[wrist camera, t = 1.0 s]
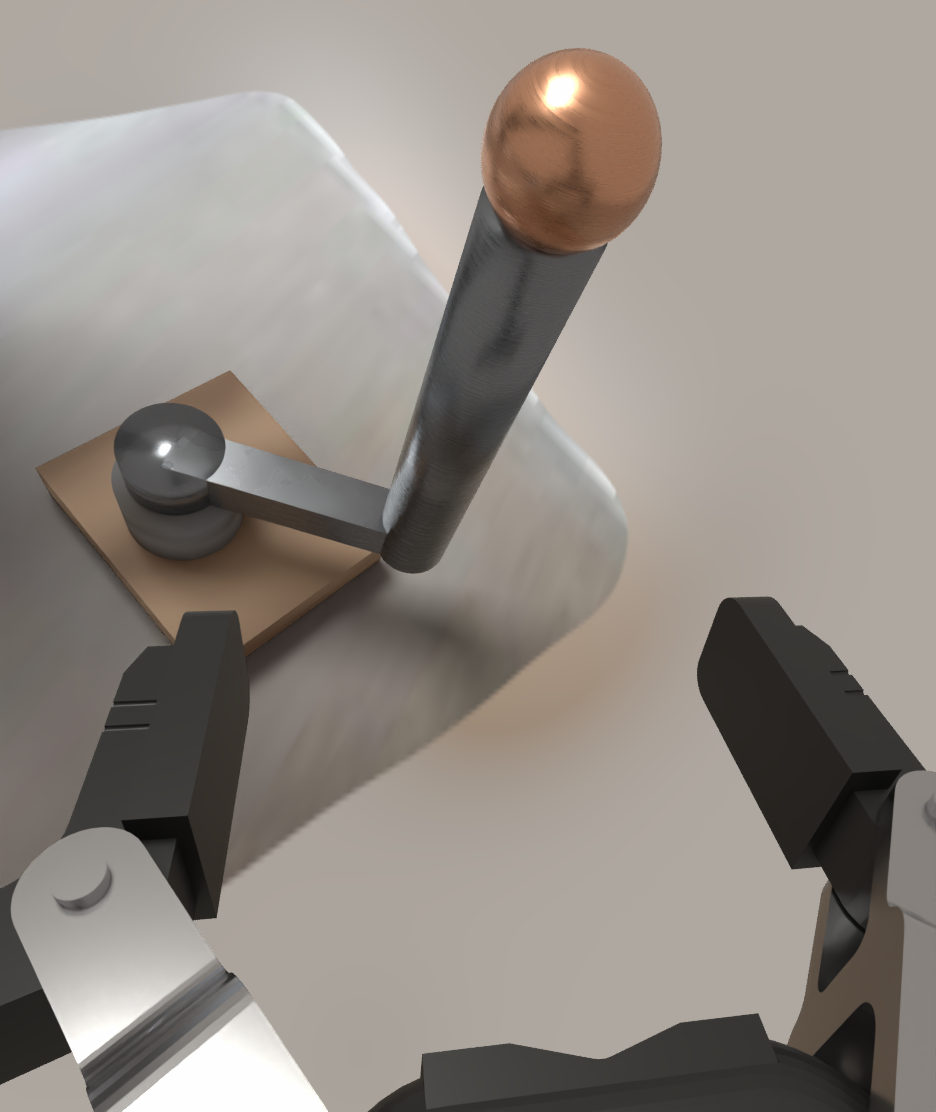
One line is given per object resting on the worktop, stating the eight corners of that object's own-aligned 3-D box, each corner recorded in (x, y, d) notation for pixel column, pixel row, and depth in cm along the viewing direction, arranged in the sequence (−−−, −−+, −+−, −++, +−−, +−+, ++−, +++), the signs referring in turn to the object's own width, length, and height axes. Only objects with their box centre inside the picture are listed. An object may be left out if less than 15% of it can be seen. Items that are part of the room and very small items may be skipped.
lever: (106, 498, 28) (-181, -174, 10) (146, 419, 29) (-36, -267, 12) (440, 594, 29) (693, 171, 12) (459, 514, 31) (702, 45, 14)
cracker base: (48, 490, 32) (13, 429, 28) (231, 394, 37) (227, 329, 33) (206, 685, 31) (196, 653, 26) (379, 559, 35) (395, 514, 31)
